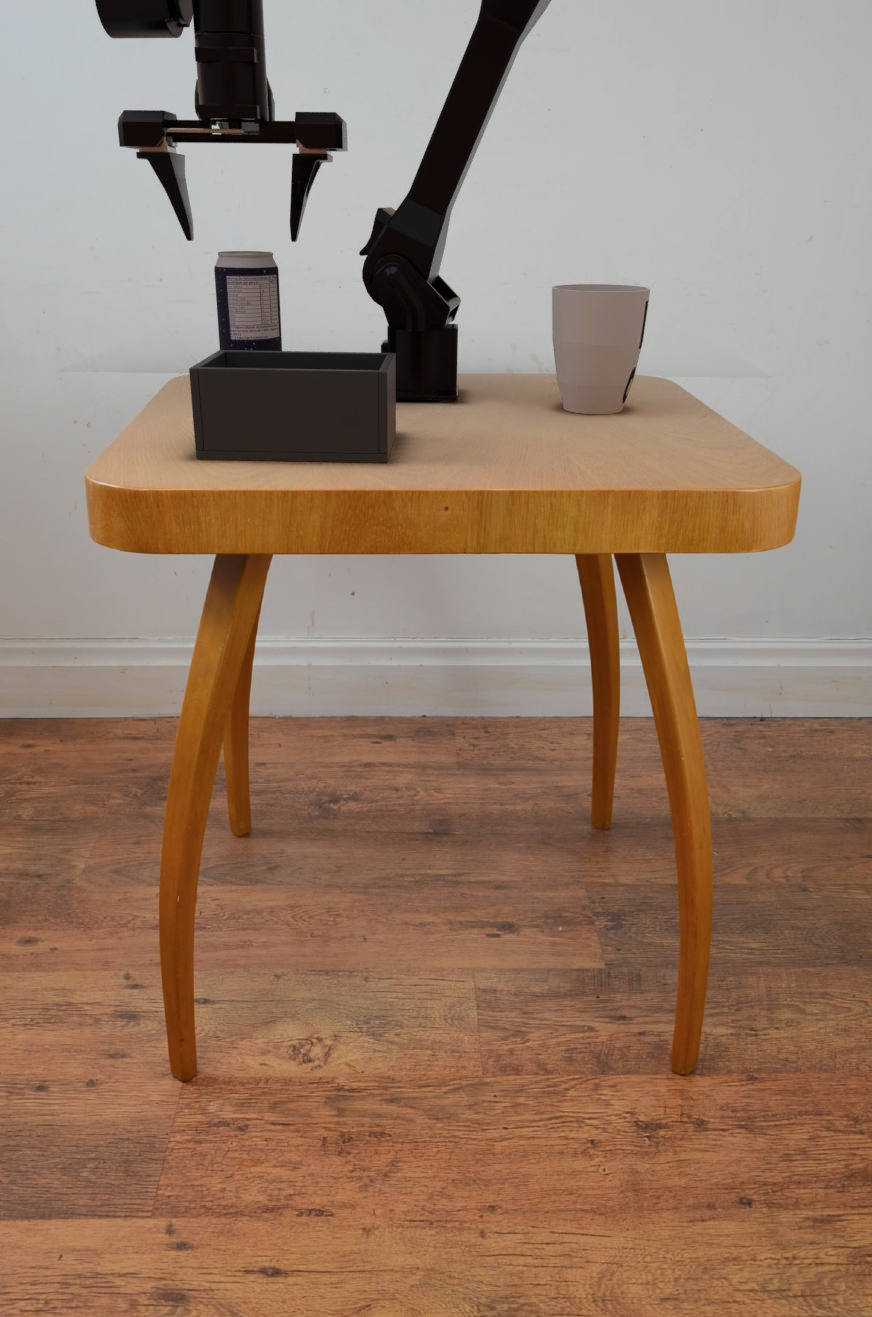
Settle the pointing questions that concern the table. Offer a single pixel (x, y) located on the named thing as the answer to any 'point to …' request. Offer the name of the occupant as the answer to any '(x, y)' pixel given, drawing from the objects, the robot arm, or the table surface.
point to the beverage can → (248, 301)
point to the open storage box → (294, 406)
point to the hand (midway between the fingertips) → (242, 241)
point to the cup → (597, 343)
